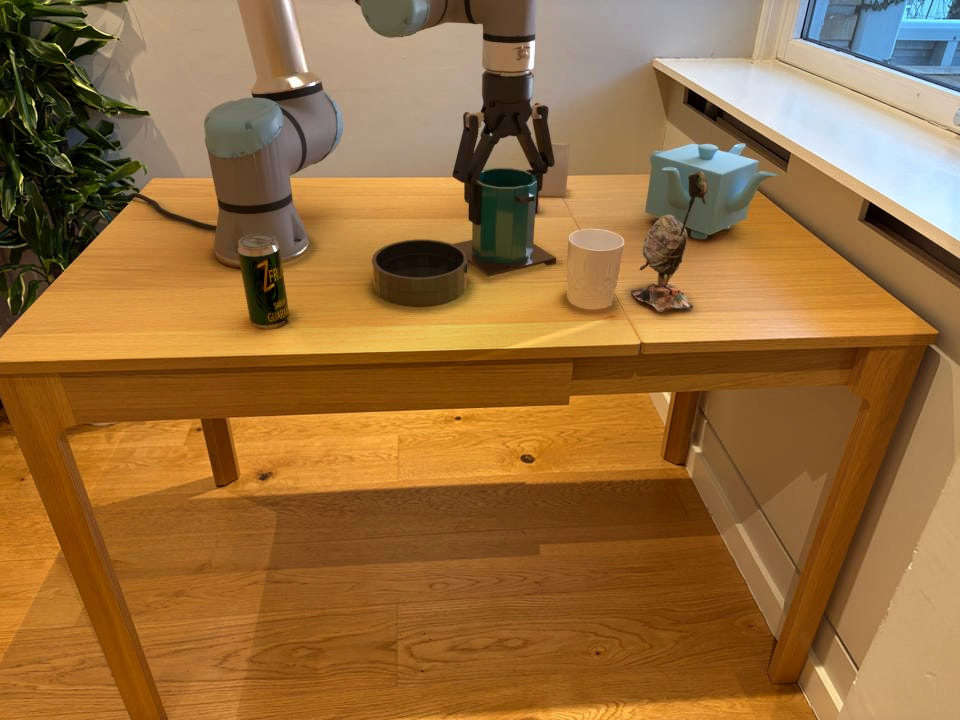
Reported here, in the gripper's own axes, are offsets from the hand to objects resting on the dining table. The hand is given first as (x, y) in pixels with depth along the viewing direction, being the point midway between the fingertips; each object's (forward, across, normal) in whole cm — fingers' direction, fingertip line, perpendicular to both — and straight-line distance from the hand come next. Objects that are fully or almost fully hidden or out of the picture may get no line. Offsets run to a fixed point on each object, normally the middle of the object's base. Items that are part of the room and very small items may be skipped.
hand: (503, 216), depth 117 cm
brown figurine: (+7, +13, -24) cm, 28 cm away
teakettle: (+7, +39, -6) cm, 40 cm away
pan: (+7, -17, -4) cm, 19 cm away
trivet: (+7, 0, 0) cm, 7 cm away
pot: (+6, 0, 0) cm, 6 cm away
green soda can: (+7, -40, -3) cm, 41 cm away
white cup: (+7, +3, -20) cm, 21 cm away
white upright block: (+7, +25, +22) cm, 34 cm away
